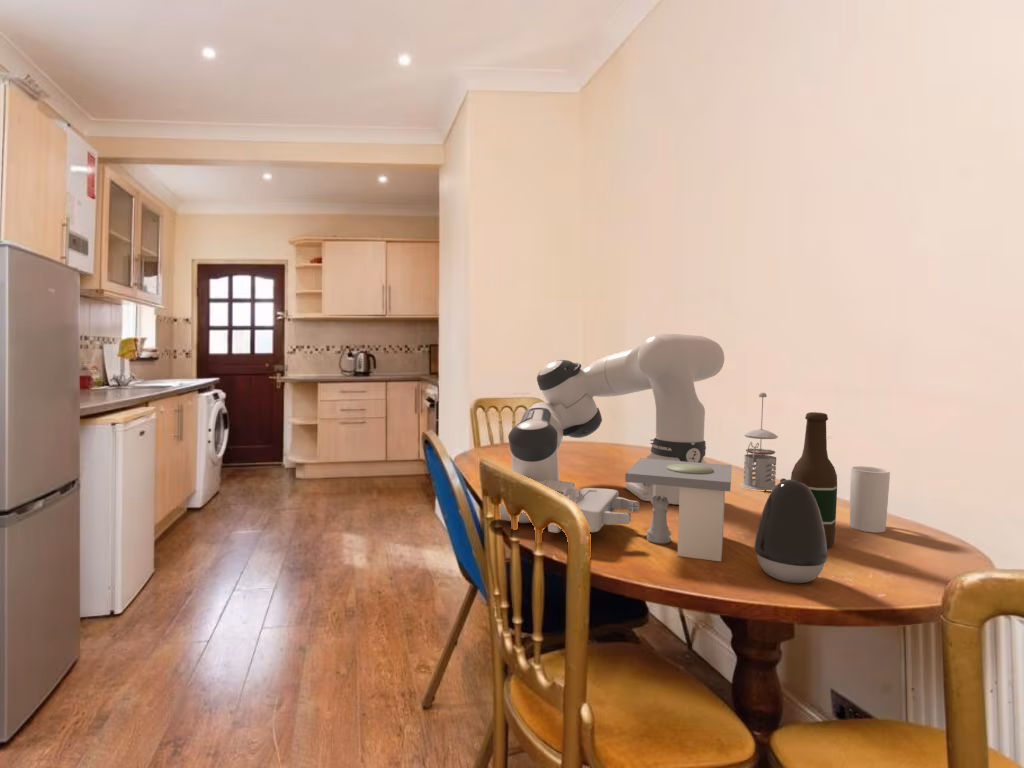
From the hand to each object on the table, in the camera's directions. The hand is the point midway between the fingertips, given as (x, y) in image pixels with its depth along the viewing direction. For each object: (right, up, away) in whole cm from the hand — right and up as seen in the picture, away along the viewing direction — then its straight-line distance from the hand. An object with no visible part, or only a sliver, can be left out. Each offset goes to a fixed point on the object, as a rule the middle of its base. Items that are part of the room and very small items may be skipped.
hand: (634, 512), depth 112 cm
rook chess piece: (+4, -5, -1) cm, 7 cm away
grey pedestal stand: (+8, -5, -2) cm, 9 cm away
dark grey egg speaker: (+20, -6, -18) cm, 28 cm away
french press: (+42, -4, +47) cm, 63 cm away
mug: (+50, -5, +11) cm, 51 cm away
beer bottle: (+32, -6, 0) cm, 33 cm away
